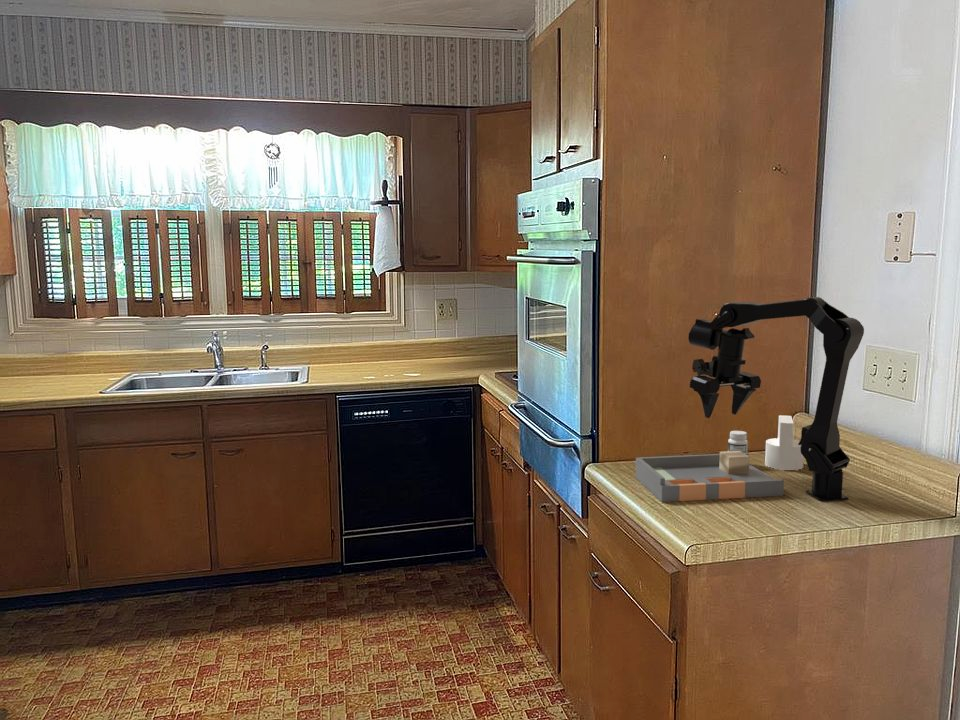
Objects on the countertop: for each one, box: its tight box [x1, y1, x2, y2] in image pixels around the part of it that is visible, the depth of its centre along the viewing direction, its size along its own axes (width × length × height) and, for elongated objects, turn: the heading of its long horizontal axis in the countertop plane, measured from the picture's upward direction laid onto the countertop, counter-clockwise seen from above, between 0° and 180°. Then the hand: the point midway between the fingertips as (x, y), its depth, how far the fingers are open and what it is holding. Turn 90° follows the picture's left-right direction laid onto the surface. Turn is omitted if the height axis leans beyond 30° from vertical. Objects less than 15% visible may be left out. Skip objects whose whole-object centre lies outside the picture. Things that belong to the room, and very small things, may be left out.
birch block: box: [719, 450, 750, 474], centre depth 178 cm, size 5×5×4 cm
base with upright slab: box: [764, 414, 805, 471], centre depth 189 cm, size 9×9×12 cm
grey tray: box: [635, 452, 785, 503], centre depth 174 cm, size 18×28×5 cm, turn 97°
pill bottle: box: [727, 430, 749, 453], centre depth 191 cm, size 5×5×8 cm
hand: (720, 415), depth 184 cm, fingers open, 9 cm apart
